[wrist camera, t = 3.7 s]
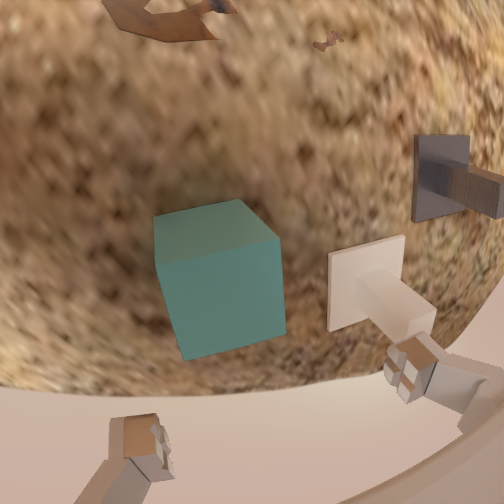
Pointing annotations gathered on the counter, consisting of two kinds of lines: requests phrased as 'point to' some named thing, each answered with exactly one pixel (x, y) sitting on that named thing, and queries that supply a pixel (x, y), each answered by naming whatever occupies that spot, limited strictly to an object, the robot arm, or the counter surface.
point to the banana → (178, 21)
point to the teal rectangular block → (219, 277)
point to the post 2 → (452, 180)
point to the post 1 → (375, 290)
